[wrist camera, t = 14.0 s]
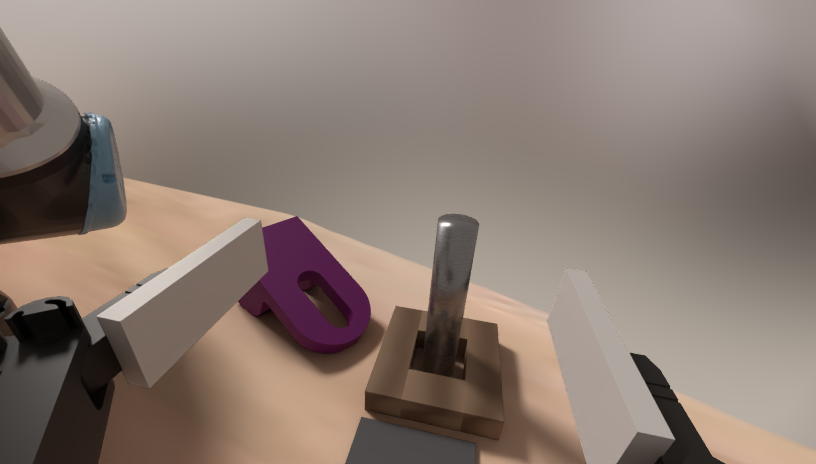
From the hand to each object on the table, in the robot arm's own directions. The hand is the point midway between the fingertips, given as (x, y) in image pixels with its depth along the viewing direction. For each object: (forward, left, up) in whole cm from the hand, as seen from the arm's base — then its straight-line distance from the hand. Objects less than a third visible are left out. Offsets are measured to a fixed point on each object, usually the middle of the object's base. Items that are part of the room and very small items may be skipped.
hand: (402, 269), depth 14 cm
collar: (+2, +13, -20) cm, 24 cm away
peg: (+2, +14, -20) cm, 24 cm away
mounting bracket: (-15, +18, -21) cm, 32 cm away
